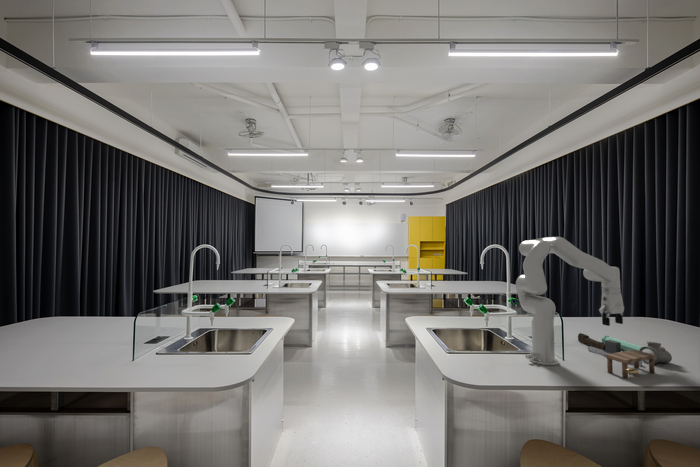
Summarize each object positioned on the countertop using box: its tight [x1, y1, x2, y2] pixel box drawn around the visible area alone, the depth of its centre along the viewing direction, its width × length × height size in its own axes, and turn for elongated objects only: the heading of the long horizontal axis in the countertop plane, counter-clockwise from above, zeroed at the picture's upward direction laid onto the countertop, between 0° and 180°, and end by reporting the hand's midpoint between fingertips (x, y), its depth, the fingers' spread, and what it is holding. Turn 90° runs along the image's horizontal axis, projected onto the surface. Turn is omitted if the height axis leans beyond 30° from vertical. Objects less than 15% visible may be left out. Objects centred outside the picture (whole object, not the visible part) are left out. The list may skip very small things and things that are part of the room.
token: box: [628, 366, 639, 376], centre depth 146 cm, size 5×5×2 cm
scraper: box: [587, 340, 643, 367], centre depth 166 cm, size 4×24×8 cm, turn 18°
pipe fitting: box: [639, 341, 673, 365], centre depth 158 cm, size 12×8×10 cm, turn 99°
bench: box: [605, 350, 655, 380], centre depth 146 cm, size 20×8×8 cm, turn 109°
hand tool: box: [577, 332, 606, 351], centre depth 183 cm, size 23×5×6 cm, turn 177°
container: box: [601, 335, 643, 352], centre depth 175 cm, size 6×6×25 cm
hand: (612, 324), depth 166 cm, fingers open, 9 cm apart
